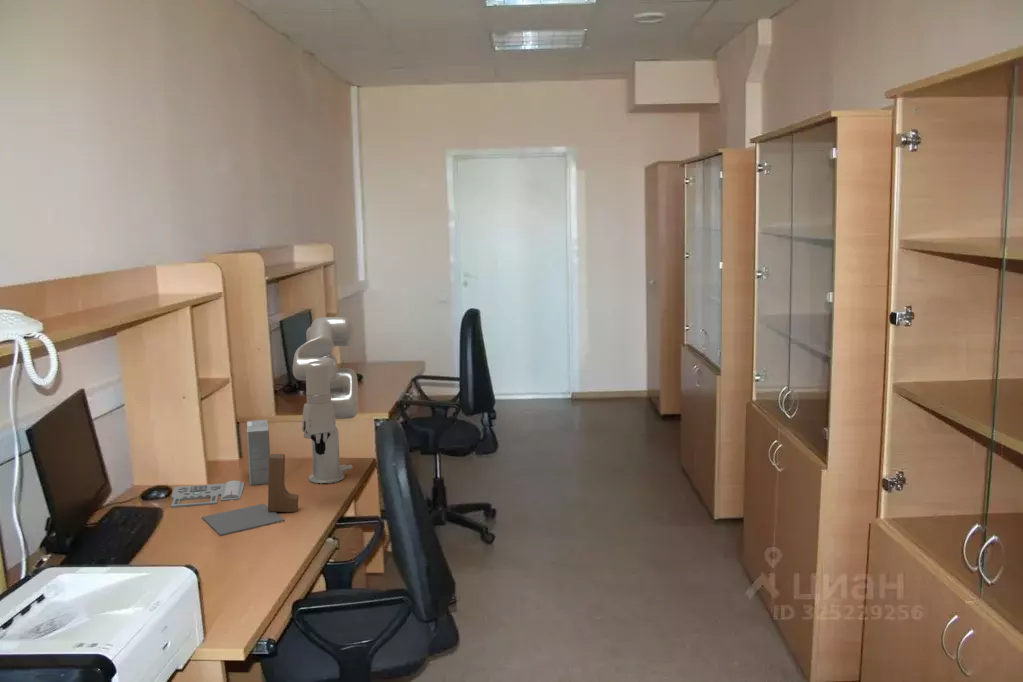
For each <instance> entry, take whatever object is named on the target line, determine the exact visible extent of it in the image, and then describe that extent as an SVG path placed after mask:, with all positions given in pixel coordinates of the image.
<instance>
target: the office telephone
mask: <svg viewBox="0 0 1023 682" xmlns="http://www.w3.org/2000/svg"><path fill="white" fill-rule="evenodd" d="M244 487H245V481H240V480H230V481H227V482H226V483H225V482H224V483H212V484H210V483H209V484H200V485H199V484H196V485H182V486H174V487H173V490H172V494H171V500H172V502H171V504H170V508H171V509H177V508H187V507H199V506H211V505H217V504H218V500H219V496H220V502H231V501H230V500H234V501H239V499H240V498H242V494H243V491H244ZM202 499H203V500H204V499H210V500H209V501H203V502H202V501H200V502H191V503H189V502H188V503H181V501H190V500H202ZM240 500H241V499H240Z"/></svg>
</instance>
